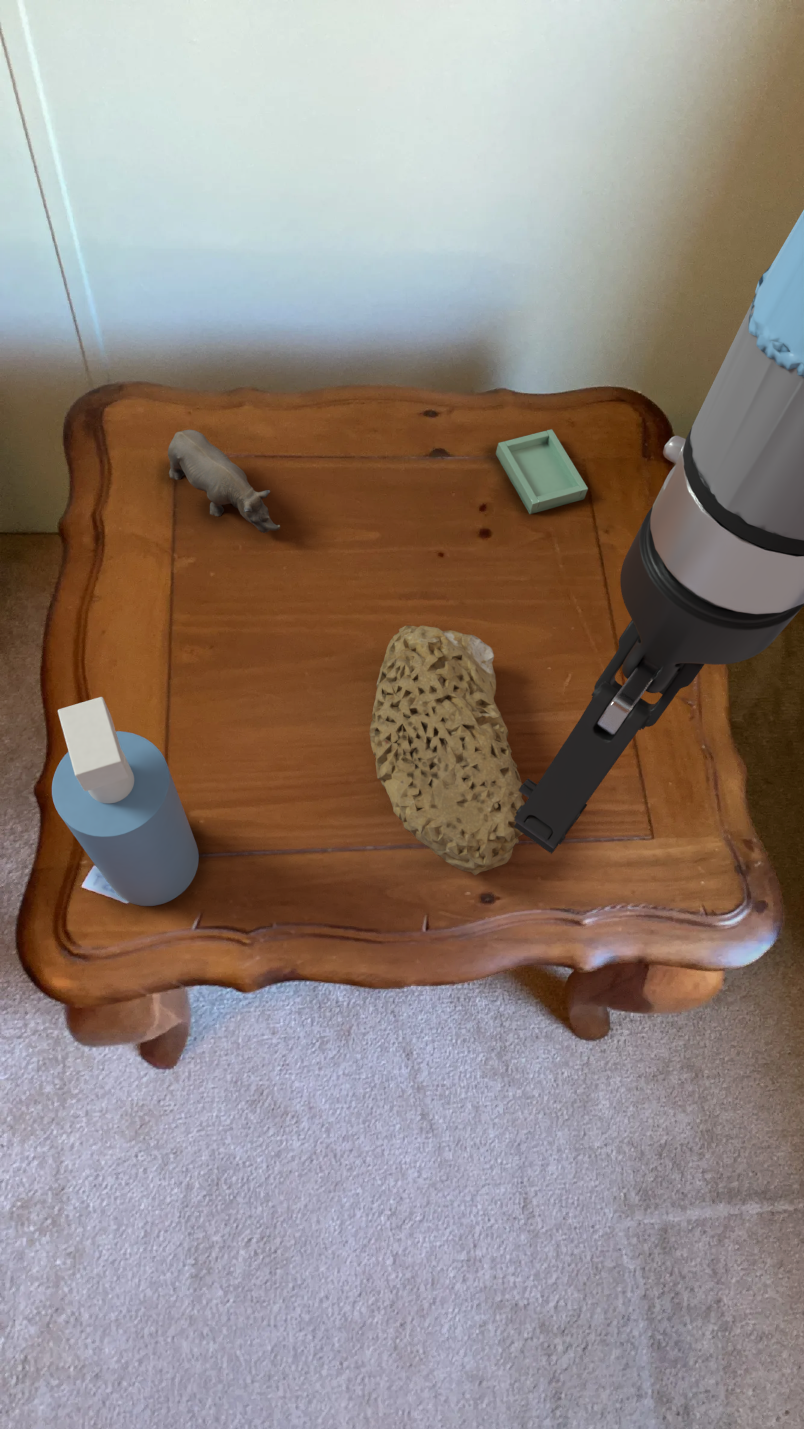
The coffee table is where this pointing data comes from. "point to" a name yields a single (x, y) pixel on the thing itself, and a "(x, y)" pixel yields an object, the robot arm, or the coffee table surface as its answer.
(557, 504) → the soap dish
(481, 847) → the sponge
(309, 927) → the coffee table surface
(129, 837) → the spray bottle
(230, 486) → the rhino figurine
